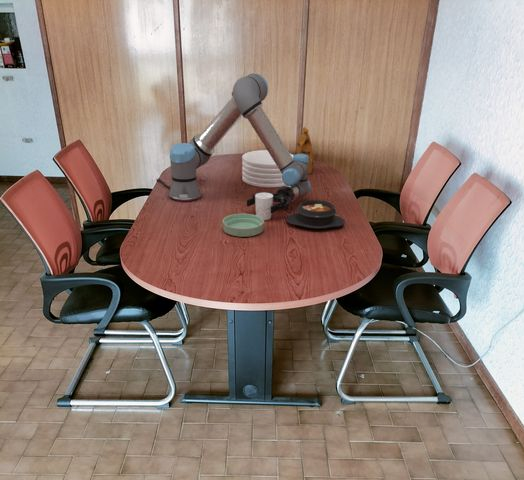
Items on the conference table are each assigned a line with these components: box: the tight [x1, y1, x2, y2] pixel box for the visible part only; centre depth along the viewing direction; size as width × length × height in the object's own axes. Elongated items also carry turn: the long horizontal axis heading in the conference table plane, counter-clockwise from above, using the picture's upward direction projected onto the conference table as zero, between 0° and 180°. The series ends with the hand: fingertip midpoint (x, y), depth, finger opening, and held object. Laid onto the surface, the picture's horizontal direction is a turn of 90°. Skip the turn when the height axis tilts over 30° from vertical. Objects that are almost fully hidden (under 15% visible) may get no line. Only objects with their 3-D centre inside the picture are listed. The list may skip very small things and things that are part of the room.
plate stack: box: [241, 149, 295, 188], centre depth 274 cm, size 28×28×12 cm
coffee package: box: [295, 126, 314, 175], centre depth 285 cm, size 10×12×22 cm
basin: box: [221, 213, 265, 238], centre depth 218 cm, size 17×17×4 cm
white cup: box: [254, 192, 274, 221], centre depth 228 cm, size 8×8×10 cm
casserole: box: [286, 199, 345, 230], centre depth 223 cm, size 25×19×8 cm
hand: (259, 206), depth 225 cm, fingers open, 12 cm apart
